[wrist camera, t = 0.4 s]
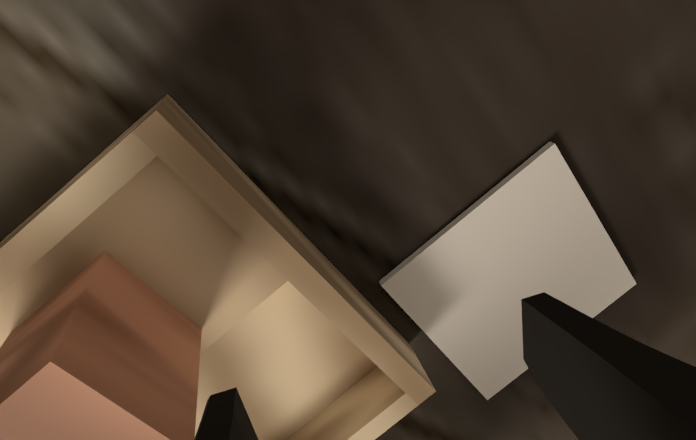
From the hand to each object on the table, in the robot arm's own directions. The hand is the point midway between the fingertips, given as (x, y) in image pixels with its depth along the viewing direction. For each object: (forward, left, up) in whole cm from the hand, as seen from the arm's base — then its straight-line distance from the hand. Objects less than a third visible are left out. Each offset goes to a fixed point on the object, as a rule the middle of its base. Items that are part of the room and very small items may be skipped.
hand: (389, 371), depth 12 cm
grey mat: (+5, -9, -10) cm, 15 cm away
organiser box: (-8, 0, -10) cm, 13 cm away
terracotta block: (-8, +3, -7) cm, 11 cm away
